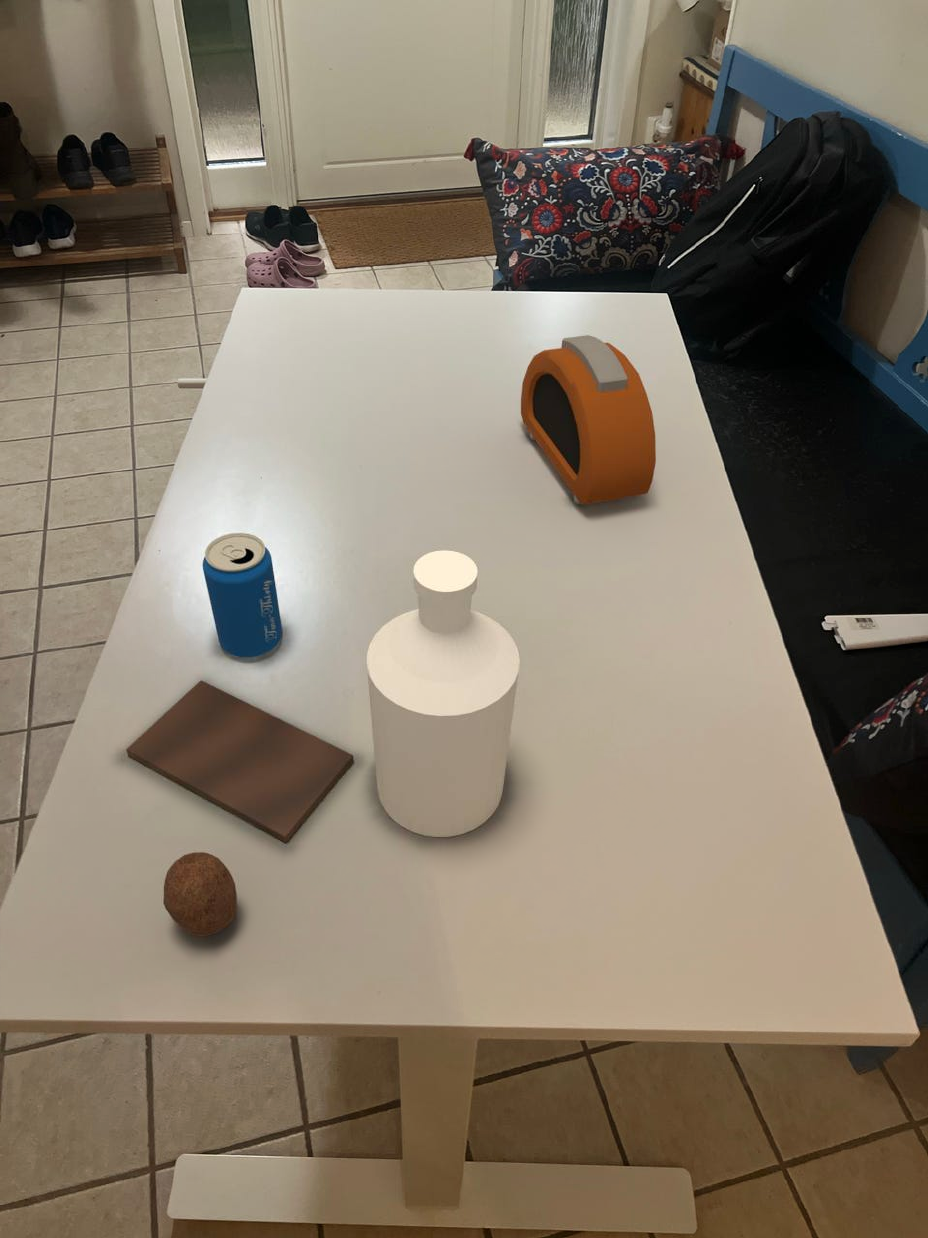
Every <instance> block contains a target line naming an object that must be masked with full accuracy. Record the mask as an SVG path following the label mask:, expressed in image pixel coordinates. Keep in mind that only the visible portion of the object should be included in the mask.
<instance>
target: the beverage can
mask: <svg viewBox="0 0 928 1238" xmlns="http://www.w3.org/2000/svg"><path fill="white" fill-rule="evenodd" d="M202 571H203V576H204V580H205V585H206V590H207V594H208V597H209V598H208V599H209V602H210V607H211V613H212V616H213V617H212V618H213V621H214V625H215V630H216V635H217V639H218V640H217V641H218V643H219V646H220V647H221V649H222V650H223V651H224V652H225V653H226V654H228V655H229V656H233V657H235V658H240V659H241V658H243V659H253V658H257V657H262V656H264V655H266V654H268V653H270V652H272V651H273V650H274V649H275V648H276V647H278V645H279V644H280V642H281V640H282V638H283V626H282V625H283V624H282V619H281V613H280V612H281V611H280V606H279V598H278V593H277V586H276V585H277V584H276V579H275V573H274V565H273V559H272V554H271V552H270V550H269V549H268V548H267V547H266V545H265V543H264V542H263V540H262V539H261V538H259V537H258V536H256V535H254V534H251V533H246V532H233V533H227V534H222V535H221V536H219V537H216V538H215V539H213V540H212V541H210V543H209V544H208V545H207V546H206V548H205V550H204V557H203V560H202Z"/></svg>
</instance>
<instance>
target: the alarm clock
mask: <svg viewBox="0 0 928 1238" xmlns="http://www.w3.org/2000/svg"><path fill="white" fill-rule="evenodd" d="M520 395H521V396H520V417H521V420H522V423H523V424H524V426H525V427H526V429H527V430H528V432H529V438H530V439H531V440H532V441H535V442H536V443H537V445H538V446H539V447H540V449H541V450H542V452H543V453H544V454H545V456H546V457H547V459H548V460H549V461H550V462H551V464H552V465H553V467H554V468H555V470H556V471H557V473H558V474H559V475H560V477H561V478H562V480H563V481H564V483H565V484H566V486H567V487H568V488H569V489H570V491H571V492H572V494H573V501H574V502H575V504H577V505H578V504H580V505H586V506H587V505H590V504H591V505H592V504H596V503H602V502H609V501H613V500H619V499H620V500H621V499H625V498H631V497H636V496H641V495H643V496H644V495H646V494H648V493H649V491H650V488H651V487H652V483H653V481H654V474H655V469H656V463H657V454H656V453H657V451H656V449H657V448H656V447H657V446H656V431H655V430H656V429H655V424H654V416H653V410H652V407H651V404H650V400H649V397H648V394H647V392H646V389H645V386H644V384H643V381H642V379H641V376H640V373H639V372H638V371H637V369H636V368H635V367H634V365H633V364H632V362H631V361H630V360H629V359H628V358H627V356H626V355H625V354H624V353H623V352H622V351H620V349H618V348H616V347H615V346H614V345H612V344H611V343H610V342H603V340H601V339H599V338H598V337H596V336H594V335H593V336H592V335H588V334H586V335H578V336H571V337H570V336H569V337H563V339H562V340H561V347H559V348H550V349H543V350H542V351H540V352H538V353H537V354H535V355H533V357H532V359H531V360H530V362H529V364H528V366H527V368H526V371H525V373H524V378H523V380H522V385H521V394H520Z"/></svg>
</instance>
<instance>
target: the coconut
mask: <svg viewBox="0 0 928 1238" xmlns="http://www.w3.org/2000/svg"><path fill="white" fill-rule="evenodd" d="M237 899H238V893H237V887H236V882H235V880H234V878H233V876H232V874H231V872H230V870H229V869H228V868H227V866H226V865H225V864H224V862H223V861H222V860H221V859H220V858H219V857H217V856H216V855H213V854H212V853H211V854H210V853H209V852H203V851H200V852H198V851H197V852H196V851H195V852H191V853H187V854H184V855H182V856H181V857H179V858H177V859H176V860H175V861H174V862H173V864H171V866H170V867H169V868H168V870H167V871H166V875H165V878H164V883H163V903H162V904H163V906H164V908H165V910H166V911H167V913H168V914H169V916H170V918H171V920H173V921H174V922H175V923H177V924H178V925H179V926H180V927H181V928H182V929H183V930H185V931H186V932H187V933H189V934H192V935H195V936H198V937H199V936H200V937H203V936H210V935H214V934H216V933H218V932H220V931H222V930H223V929H226V927H227V926H228V925H229V924H230V923H231V922H232V920H233V919H234V917H235V915H236V913H237V912H236V911H237V908H238V907H237V906H238V905H237V903H238V902H237V901H238V900H237Z"/></svg>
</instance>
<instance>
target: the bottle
mask: <svg viewBox="0 0 928 1238" xmlns="http://www.w3.org/2000/svg"><path fill="white" fill-rule="evenodd" d="M478 573H479V572H478V567H477V565H476V563H475V562H474V561H473V559H472V558H471V557H470V556H467V555H466V554H464V553H462V552H459V551H454V550H436V551H431V552H428V553H426V554H424V555H423V556H421V557H419V558H418V560H416V562H415V563H414V566H413V574H412V575H413V590H414V591H415V593H416V595H417V602H418V603H417V604H418V606H417V608H416V609H414V610H410V611H406V612H404V613H402V614H400V615H398V616H396V617H394V618H392V619H391V620H389V621H388V622H386V623H385V624H384V625H382V627H381V628H380V629H379V630H378V631H377V632H376V633H375V635H374V636H373V638H372V639H371V641H370V643H369V646H368V649H367V653H366V671H367V682H368V683H367V684H368V694H369V708H370V717H371V729H372V730H371V731H372V738H373V739H372V742H373V743H372V744H373V754H374V765H375V766H374V767H375V776H376V777H375V778H376V789H377V795H378V799H379V802H380V803H381V805H382V807H383V809H384V811H385V812H386V813H387V815H388V816H389V818H391V819H392V820H393V821H394V822H395V823H396V824H398V825H399V826H400V827H402V828H404V829H405V830H408V831H409V832H412V833H414V834H418V835H421V836H425V837H432V838H452V837H456V836H460V835H464V834H466V833H469V832H471V831H473V830H475V829H477V828H478V827H480V826H481V825H484V824H485V823H486V822H487V820H489V819H490V818H491V817H492V816H493V815H494V813H495V812H496V810H497V808H498V807H499V805H500V802H501V800H502V796H503V791H504V790H503V789H504V782H505V777H506V776H505V775H506V770H507V769H506V767H507V760H508V754H509V747H510V746H509V745H510V740H511V739H510V737H511V731H512V725H513V724H512V723H513V716H514V709H515V701H516V694H517V688H518V687H517V685H518V680H519V679H518V678H519V671H520V662H521V660H520V654H519V649H518V646H517V644H516V643H515V640H514V639H513V638H512V637H513V636H511V635H510V634H509V632H508V630H506V629H505V628H504V627H503V626H502V625H501V624H500V623H498V622H497V621H495V620H494V619H492V618H490V616H487V615H485V614H482V613H480V612H478V611H475V610H473V609H472V601H473V596H474V594H475V593H476V591H477V587H478Z"/></svg>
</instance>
